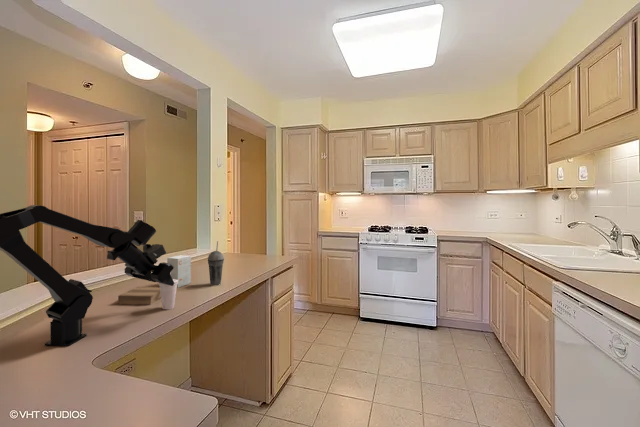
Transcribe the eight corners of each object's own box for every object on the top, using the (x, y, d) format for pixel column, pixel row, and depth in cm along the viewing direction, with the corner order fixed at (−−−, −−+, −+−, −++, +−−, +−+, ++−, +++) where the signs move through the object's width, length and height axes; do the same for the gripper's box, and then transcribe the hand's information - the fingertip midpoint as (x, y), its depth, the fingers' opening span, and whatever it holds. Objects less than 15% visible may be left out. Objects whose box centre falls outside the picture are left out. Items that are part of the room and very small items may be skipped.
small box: (180, 282, 143) (180, 254, 143) (191, 283, 141) (191, 255, 141) (166, 286, 136) (166, 257, 135) (177, 287, 134) (177, 258, 133)
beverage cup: (203, 285, 138) (204, 242, 138) (213, 281, 145) (214, 240, 145) (217, 287, 136) (217, 243, 135) (226, 283, 143) (227, 241, 142)
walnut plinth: (150, 304, 112) (150, 296, 111) (118, 303, 112) (118, 295, 111) (167, 294, 124) (167, 287, 123) (137, 294, 124) (137, 286, 123)
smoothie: (170, 311, 105) (170, 271, 104) (153, 309, 106) (154, 270, 106) (181, 305, 111) (182, 267, 111) (166, 304, 112) (166, 266, 112)
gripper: (168, 239, 97) (196, 266, 108) (133, 235, 106) (162, 261, 116) (144, 268, 91) (177, 294, 101) (109, 261, 99) (142, 286, 109)
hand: (164, 282), depth 107 cm, fingers open, 9 cm apart
